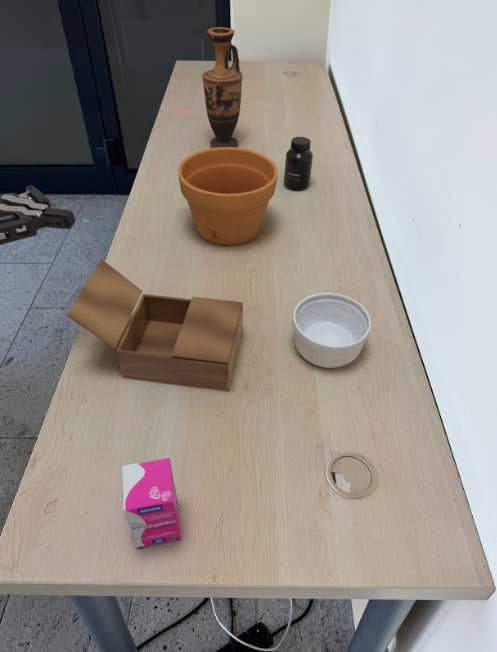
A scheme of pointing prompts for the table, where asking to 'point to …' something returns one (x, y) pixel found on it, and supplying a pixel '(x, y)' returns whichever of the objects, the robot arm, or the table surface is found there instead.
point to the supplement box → (151, 502)
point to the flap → (105, 303)
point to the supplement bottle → (298, 164)
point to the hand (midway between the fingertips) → (71, 220)
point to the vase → (223, 89)
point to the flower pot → (227, 192)
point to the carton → (182, 341)
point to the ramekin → (330, 329)
